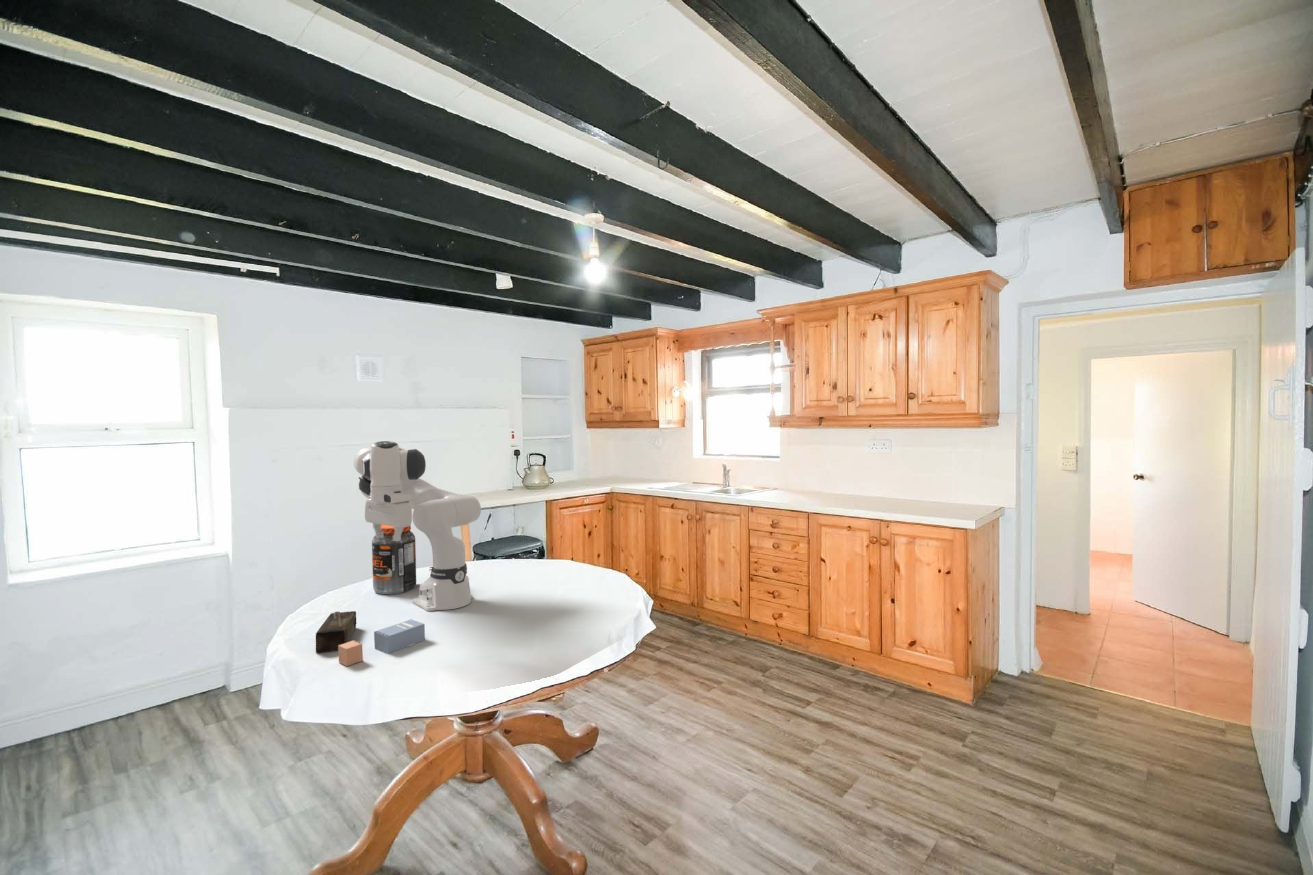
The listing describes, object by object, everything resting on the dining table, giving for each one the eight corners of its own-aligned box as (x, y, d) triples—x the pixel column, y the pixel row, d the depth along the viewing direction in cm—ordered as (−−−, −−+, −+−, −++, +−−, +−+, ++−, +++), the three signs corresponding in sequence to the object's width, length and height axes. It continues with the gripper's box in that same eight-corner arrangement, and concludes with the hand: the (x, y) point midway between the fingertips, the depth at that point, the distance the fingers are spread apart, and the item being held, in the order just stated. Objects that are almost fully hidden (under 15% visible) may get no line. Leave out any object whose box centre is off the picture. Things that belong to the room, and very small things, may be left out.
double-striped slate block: (374, 648, 169) (374, 631, 168) (411, 634, 178) (411, 618, 178) (387, 653, 165) (387, 636, 164) (424, 639, 175) (424, 623, 174)
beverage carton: (357, 627, 186) (357, 608, 185) (345, 651, 167) (344, 629, 167) (330, 630, 183) (329, 610, 183) (314, 655, 165) (313, 632, 165)
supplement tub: (365, 590, 224) (363, 525, 223) (403, 581, 237) (401, 519, 236) (386, 598, 215) (384, 530, 214) (424, 587, 227) (422, 523, 226)
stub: (338, 662, 159) (338, 644, 159) (354, 656, 162) (354, 639, 162) (347, 666, 156) (346, 648, 156) (362, 660, 160) (362, 642, 160)
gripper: (358, 493, 177) (359, 537, 178) (395, 498, 166) (397, 545, 166) (377, 490, 183) (379, 533, 183) (415, 495, 171) (416, 540, 172)
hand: (388, 539), depth 175 cm, fingers open, 8 cm apart
